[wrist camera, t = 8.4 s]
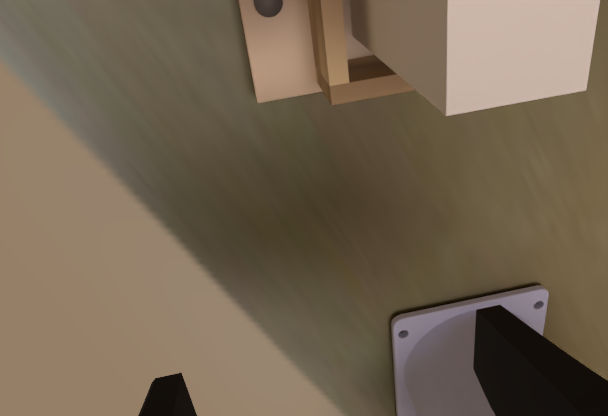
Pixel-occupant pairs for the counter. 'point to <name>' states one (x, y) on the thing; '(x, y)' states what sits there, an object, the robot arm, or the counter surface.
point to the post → (481, 47)
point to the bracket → (311, 52)
